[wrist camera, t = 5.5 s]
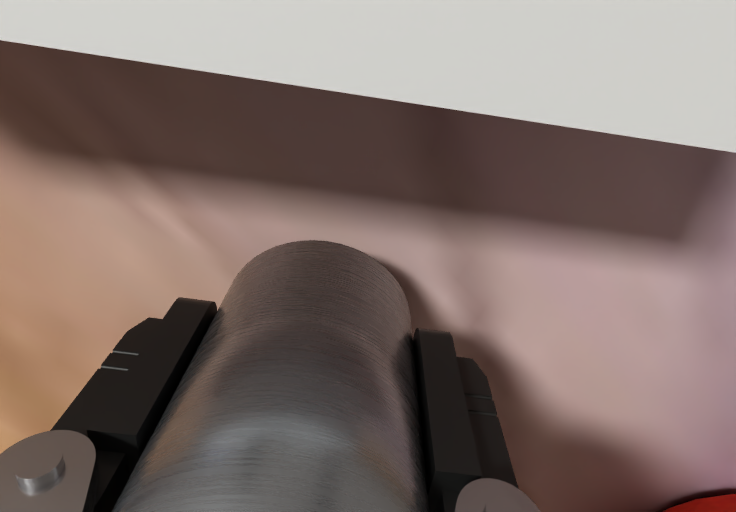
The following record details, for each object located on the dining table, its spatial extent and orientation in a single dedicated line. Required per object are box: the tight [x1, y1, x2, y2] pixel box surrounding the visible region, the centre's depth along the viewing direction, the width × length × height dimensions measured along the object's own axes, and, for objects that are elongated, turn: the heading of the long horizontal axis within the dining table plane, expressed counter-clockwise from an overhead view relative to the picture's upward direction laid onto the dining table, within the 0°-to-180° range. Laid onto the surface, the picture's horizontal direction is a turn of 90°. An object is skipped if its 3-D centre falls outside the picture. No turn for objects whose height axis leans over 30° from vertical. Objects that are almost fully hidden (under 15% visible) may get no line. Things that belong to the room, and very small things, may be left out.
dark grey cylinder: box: [111, 240, 429, 512], centre depth 8 cm, size 4×4×8 cm
